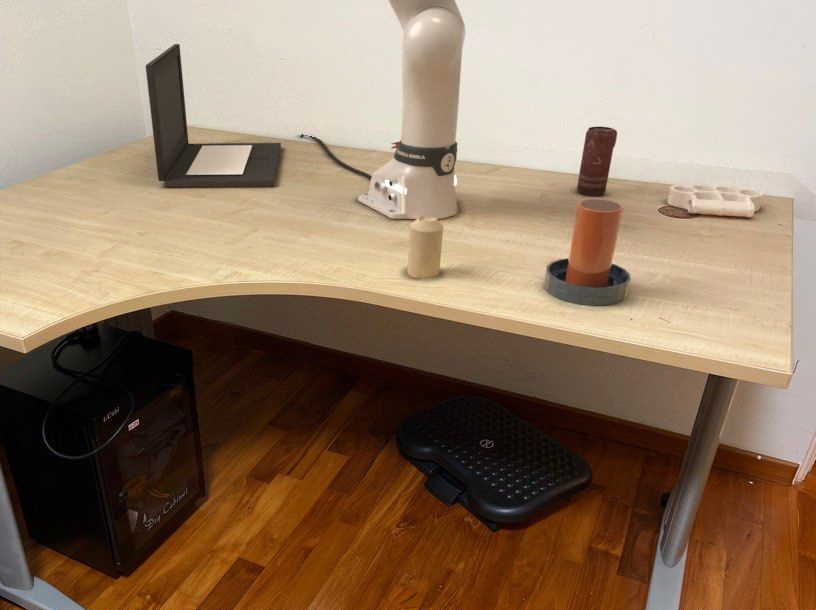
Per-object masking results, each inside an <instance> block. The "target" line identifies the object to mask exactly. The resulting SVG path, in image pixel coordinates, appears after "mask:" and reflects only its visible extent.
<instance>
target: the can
mask: <svg viewBox="0 0 816 610" xmlns="http://www.w3.org/2000/svg"><path fill="white" fill-rule="evenodd" d="M617 139H618V130H616V129H615V128H613V127H609V126H608V127H607V126H591V127H589V128H588V129H587V131H586V132H585V137H584V143H583V150H582V154H581V162H580V167H579V173H578V174H579V175H578V178H577V179H578V180H577V185H576V186H577V187H576V191H577V193H578V194H580V195H582V196H586V197H600V196H603V195H604V194H605V193H606V189H607V185H608V184H607V183H608V179H609V176H610V175H609V173H610V169H611V163H612V157H613V152H614V148H616V147H615V146H616V143H617Z"/></svg>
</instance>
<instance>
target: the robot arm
mask: <svg viewBox="0 0 816 610" xmlns="http://www.w3.org/2000/svg"><path fill="white" fill-rule="evenodd" d="M387 1H388V3H389V5H390V7H391V8H392V10H393V12H394V14H395V16H396V19H397V20H398V22H399V24H400V27H401V28H402V31H403V35H402V46H401V47H402V49H401V50H402V51H401V52H402V53H401V83H402V84H401V85H402V87H401V88H402V107H401V108H402V109H401V111H402V113H401V128H400V129H401V131H400V140H399V141H396V142H391V143H390V144H391V145H393V146H390V149H391V150H393V149H395V151H394V154H393V157H392V158H391V159H389V160H388V161H387V162H386V163H384V164H383V165H382V166H381V167H379V168H378V169H376V170H374V172H373V174H372V175H370V174H369V173H367V172H364V171H362V170H360V169H357V168H354V167H352V166H350V165H348V164H346V163H345V162H343V161H341V160H340V159H338V158H337V157H336V156H335V155H334V154H333V153H332V151H330V149H329V148H328V147H327V146H326V144H325V143H324V142H323V141H322V139H320V138H318V137H316V136H314V137H312V136H308V135H303V133H301V134H300V136H299V137H300V138H304V137H305V136H306V137H309V138H311V139H312V140H314V141H316V142H318V143H319V144H320V145H321V147H322V148H323V149H324V150H325V152H326V153H327V154H328V156H330V158H331V159H332V160H333V161H335V162H336V163H337V164H339V165H340V166H341V167H344V168H346V169H347V170H349V171H352V172H354V173H356V174H358V175H361V176H364V177H366V178H367V179H369V180H370V182H369V190H367V191H365V192H363V193H361V194H360V195H358V198H357V200H358V202H360V203H362V204H363V205H365V206H368V208H371V209H372V210H374V211H377V212H378V213H379V214H382V215H384V216H386V217H388V218H389V219H393V220H405V219H407V220H408V219H409V220H417V219H418V218H420V217H421V216H423V215H428V216H430V217H431V218H434V217H436V218H437V219H438V220H440V219H445V218H449V217H453V216H455V215H456V214H457V213H458V211H459V210H458V209H459V208H458V205H457V204H458V203H457V196H456V185H457V175H456V174H455V166H456V162H457V157H458V142H457V141H456V140H457V130H458V116H459V106H460V105H459V103H460V86H461V71H462V56H463V48H464V44H465V40H466V26H465V22H464V19H463V17H462V15H461V11H460V9H459V7H458V5H457V2H456V0H387Z"/></svg>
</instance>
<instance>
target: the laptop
mask: <svg viewBox="0 0 816 610" xmlns="http://www.w3.org/2000/svg"><path fill="white" fill-rule="evenodd" d="M145 74H146V83H147V92H148V100H149V108H150V116H151V117H150V118H151V126H152V135H153V136H152V137H153V145H154V153H155V162H156V171H157V179H158V181H159V182H163V184H164V188H246V187H247V188H263V187H264V188H265V187H266V188H272V187H274V186H275V185H274V184H275V179H276V174H277V169H278V165H279V160H280V155H281V151H282V143H281V142H227V143H226V142H225V143H223V142H221V143H218V142H216V143H215V142H214V143H212V142H211V143H209V142H208V143H189V134H188V121H187V111H186V101H185V90H184V88H185V87H184V78H183V66H182V57H181V46H180V43H174V44H173V45H170V47H168V48H167V49H166V50H163V52H162V53H160V54H159V55H158V56H156V57H155V58H154V59H152V60H151V61H150V62H148V63H147V64H145Z"/></svg>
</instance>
